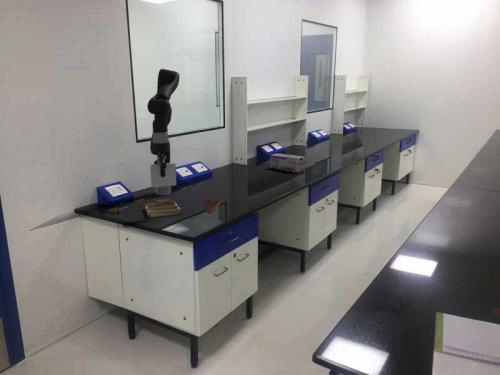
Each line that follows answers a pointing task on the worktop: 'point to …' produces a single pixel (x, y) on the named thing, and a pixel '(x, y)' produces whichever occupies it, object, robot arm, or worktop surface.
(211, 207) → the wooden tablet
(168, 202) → the offcut upper
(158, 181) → the pvc sheet
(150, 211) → the rack
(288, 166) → the surgical sutures box
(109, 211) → the decorative fence
